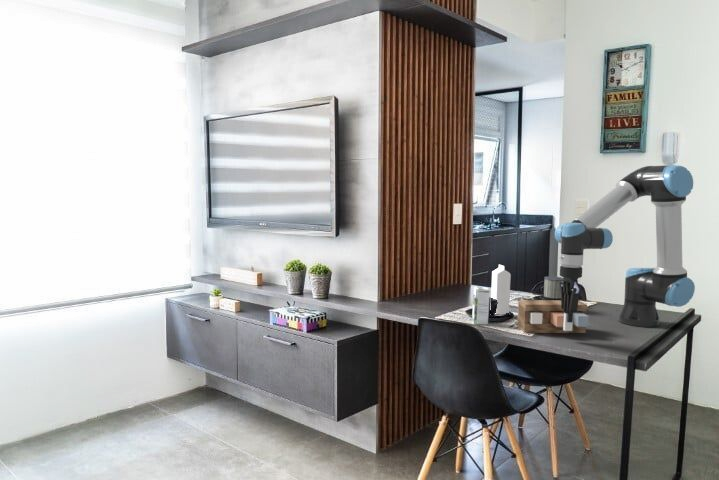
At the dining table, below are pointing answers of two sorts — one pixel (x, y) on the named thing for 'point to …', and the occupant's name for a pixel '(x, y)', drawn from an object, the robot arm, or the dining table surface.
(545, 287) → the milk frother
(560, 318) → the salmon pink block
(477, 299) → the syrup box
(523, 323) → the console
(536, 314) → the cream button
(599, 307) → the dining table surface
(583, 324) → the slate button
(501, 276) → the milk
